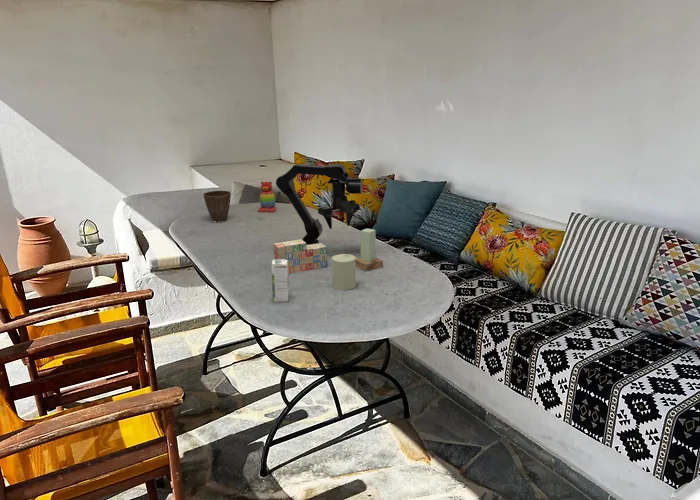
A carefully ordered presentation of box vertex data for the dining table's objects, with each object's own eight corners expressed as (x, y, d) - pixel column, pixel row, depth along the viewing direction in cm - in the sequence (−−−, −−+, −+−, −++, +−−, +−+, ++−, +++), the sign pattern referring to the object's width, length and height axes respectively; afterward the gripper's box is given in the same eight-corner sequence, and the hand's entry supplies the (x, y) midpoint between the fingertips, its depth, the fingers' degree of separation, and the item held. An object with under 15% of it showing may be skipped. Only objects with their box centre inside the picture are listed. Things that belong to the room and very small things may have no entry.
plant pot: (229, 224, 294) (227, 196, 289) (202, 224, 294) (200, 196, 289) (235, 217, 308) (233, 190, 303) (210, 217, 308) (207, 190, 303)
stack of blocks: (322, 262, 232) (321, 236, 228) (327, 267, 226) (326, 239, 223) (275, 270, 224) (273, 242, 220) (279, 275, 218) (277, 246, 214)
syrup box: (273, 296, 197) (271, 259, 193) (289, 295, 198) (287, 258, 193) (272, 302, 192) (270, 264, 187) (289, 301, 192) (287, 264, 188)
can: (359, 282, 209) (358, 254, 205) (351, 291, 200) (351, 261, 197) (337, 280, 212) (336, 251, 208) (329, 288, 203) (328, 259, 200)
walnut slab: (365, 271, 221) (365, 264, 220) (353, 265, 228) (353, 258, 227) (382, 267, 225) (382, 260, 224) (370, 261, 232) (370, 254, 232)
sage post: (360, 260, 225) (360, 230, 221) (366, 257, 229) (366, 228, 225) (369, 262, 223) (369, 232, 219) (375, 259, 226) (375, 229, 222)
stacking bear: (256, 212, 320) (254, 183, 314) (262, 208, 329) (260, 179, 323) (274, 212, 318) (272, 183, 312) (278, 208, 327) (277, 180, 322)
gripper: (329, 199, 222) (330, 234, 226) (366, 193, 231) (366, 228, 236) (316, 194, 231) (318, 229, 235) (352, 189, 240) (353, 222, 245)
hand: (339, 227), depth 238 cm, fingers open, 9 cm apart
